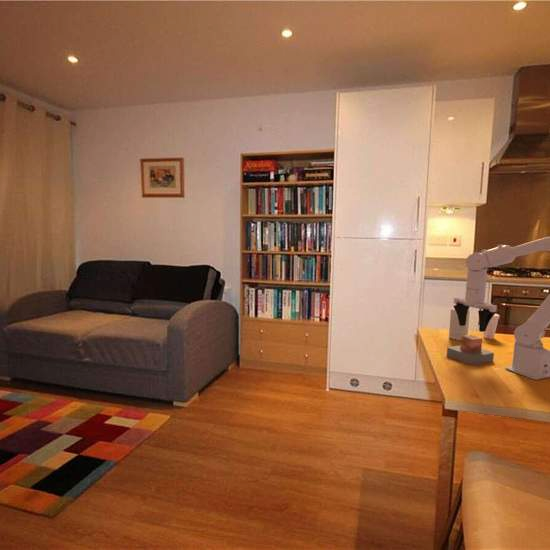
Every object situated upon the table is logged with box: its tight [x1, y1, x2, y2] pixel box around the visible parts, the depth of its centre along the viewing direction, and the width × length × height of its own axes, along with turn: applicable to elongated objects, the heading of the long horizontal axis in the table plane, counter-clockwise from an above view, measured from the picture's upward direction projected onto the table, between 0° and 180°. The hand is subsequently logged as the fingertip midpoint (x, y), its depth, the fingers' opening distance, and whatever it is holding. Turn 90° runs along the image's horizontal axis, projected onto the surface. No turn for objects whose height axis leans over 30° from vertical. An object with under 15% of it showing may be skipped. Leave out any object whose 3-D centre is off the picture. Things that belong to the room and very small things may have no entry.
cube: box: [460, 334, 483, 353], centre depth 126 cm, size 4×4×4 cm
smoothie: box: [482, 313, 501, 340], centre depth 151 cm, size 6×6×14 cm
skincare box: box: [448, 307, 470, 341], centre depth 149 cm, size 6×4×12 cm
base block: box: [446, 344, 495, 366], centre depth 126 cm, size 10×10×3 cm
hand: (472, 328), depth 126 cm, fingers open, 7 cm apart
